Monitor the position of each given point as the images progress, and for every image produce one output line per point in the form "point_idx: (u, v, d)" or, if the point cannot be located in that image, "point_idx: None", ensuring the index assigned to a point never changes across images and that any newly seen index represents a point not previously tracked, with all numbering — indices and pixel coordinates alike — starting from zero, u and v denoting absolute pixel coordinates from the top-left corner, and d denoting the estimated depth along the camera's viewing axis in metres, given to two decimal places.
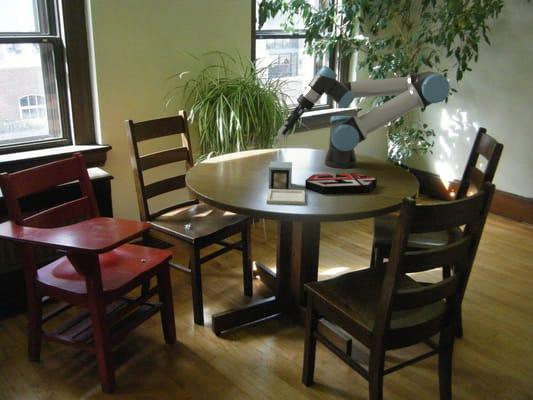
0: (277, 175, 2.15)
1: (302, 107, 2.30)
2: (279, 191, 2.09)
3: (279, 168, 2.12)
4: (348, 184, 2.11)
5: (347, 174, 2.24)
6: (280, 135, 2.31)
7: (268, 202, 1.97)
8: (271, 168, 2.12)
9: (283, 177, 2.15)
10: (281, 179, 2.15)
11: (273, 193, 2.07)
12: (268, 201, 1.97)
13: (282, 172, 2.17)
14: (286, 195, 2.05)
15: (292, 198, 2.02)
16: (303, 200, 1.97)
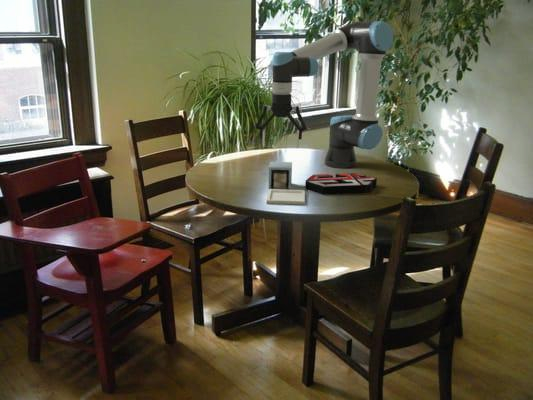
0: (277, 175, 2.15)
1: None
2: (279, 191, 2.09)
3: (279, 168, 2.12)
4: (348, 184, 2.11)
5: (347, 174, 2.24)
6: (298, 142, 2.12)
7: (268, 202, 1.97)
8: (271, 168, 2.12)
9: (283, 177, 2.15)
10: (281, 179, 2.15)
11: (273, 193, 2.07)
12: (268, 201, 1.97)
13: (282, 172, 2.17)
14: (286, 195, 2.05)
15: (292, 198, 2.02)
16: (303, 200, 1.97)
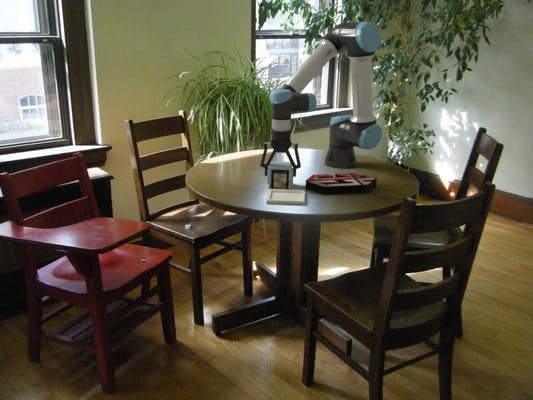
0: (277, 175, 2.15)
1: None
2: (279, 191, 2.09)
3: (279, 168, 2.12)
4: (349, 184, 2.11)
5: (346, 174, 2.25)
6: None
7: (268, 202, 1.97)
8: (271, 168, 2.12)
9: (283, 177, 2.15)
10: (281, 179, 2.15)
11: (273, 193, 2.07)
12: (268, 201, 1.97)
13: (282, 172, 2.17)
14: (286, 195, 2.05)
15: (292, 198, 2.02)
16: (303, 200, 1.97)
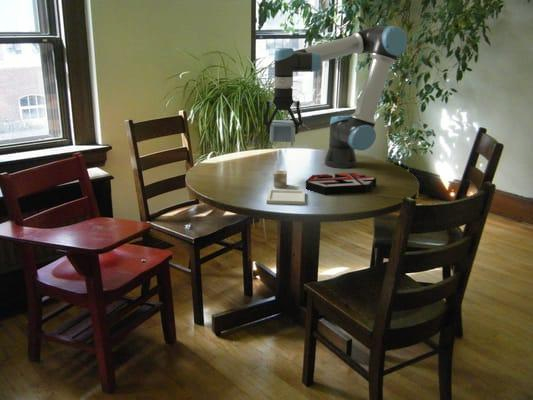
0: (277, 175, 2.15)
1: None
2: (279, 191, 2.09)
3: (281, 125, 2.18)
4: (349, 184, 2.11)
5: (346, 174, 2.25)
6: (294, 137, 2.23)
7: (268, 202, 1.97)
8: (274, 125, 2.18)
9: (283, 177, 2.15)
10: (281, 179, 2.15)
11: (273, 193, 2.07)
12: (268, 201, 1.97)
13: (282, 172, 2.17)
14: (286, 195, 2.05)
15: (292, 198, 2.02)
16: (303, 200, 1.97)
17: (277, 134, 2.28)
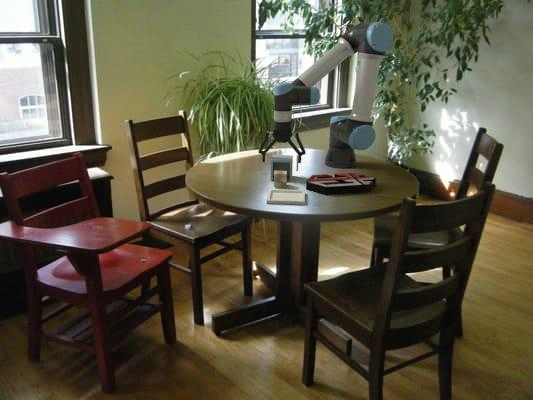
0: (277, 175, 2.15)
1: None
2: (279, 191, 2.09)
3: (280, 161, 2.23)
4: (349, 184, 2.11)
5: (346, 174, 2.25)
6: None
7: (268, 202, 1.97)
8: (273, 161, 2.23)
9: (283, 177, 2.15)
10: (281, 179, 2.15)
11: (273, 193, 2.07)
12: (268, 201, 1.97)
13: (282, 172, 2.17)
14: (286, 195, 2.05)
15: (292, 198, 2.02)
16: (303, 200, 1.97)
17: (277, 168, 2.33)
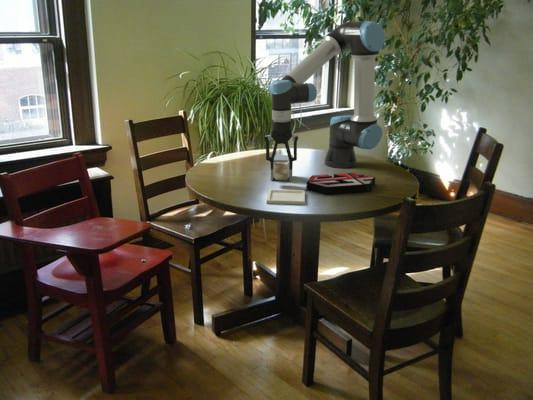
0: (278, 166, 2.14)
1: None
2: (279, 191, 2.09)
3: (280, 161, 2.23)
4: (350, 184, 2.11)
5: (345, 174, 2.25)
6: (289, 172, 2.16)
7: (268, 202, 1.97)
8: None
9: (285, 168, 2.14)
10: (282, 170, 2.14)
11: (273, 193, 2.07)
12: (268, 201, 1.97)
13: (283, 163, 2.16)
14: (286, 195, 2.05)
15: (292, 198, 2.02)
16: (303, 200, 1.97)
17: None
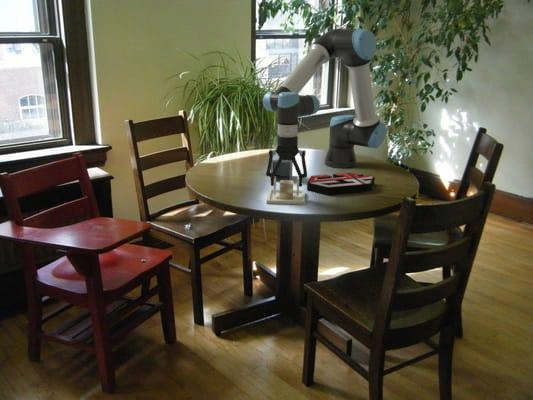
0: (283, 185, 1.99)
1: None
2: (279, 191, 2.09)
3: None
4: (351, 184, 2.11)
5: (344, 174, 2.25)
6: (298, 189, 2.01)
7: (268, 202, 1.97)
8: (273, 161, 2.23)
9: (290, 187, 1.99)
10: (287, 189, 2.00)
11: (273, 193, 2.07)
12: (268, 201, 1.97)
13: (288, 182, 2.01)
14: None
15: None
16: (303, 200, 1.97)
17: None
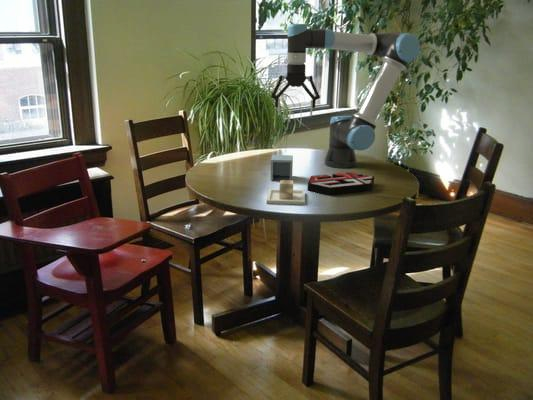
0: (283, 185, 1.99)
1: None
2: (279, 191, 2.09)
3: (280, 161, 2.23)
4: (352, 184, 2.11)
5: (343, 174, 2.25)
6: None
7: (268, 202, 1.97)
8: (273, 161, 2.23)
9: (290, 187, 1.99)
10: (287, 189, 2.00)
11: (273, 193, 2.07)
12: (268, 201, 1.97)
13: (288, 182, 2.01)
14: None
15: None
16: (303, 200, 1.97)
17: (277, 168, 2.33)
